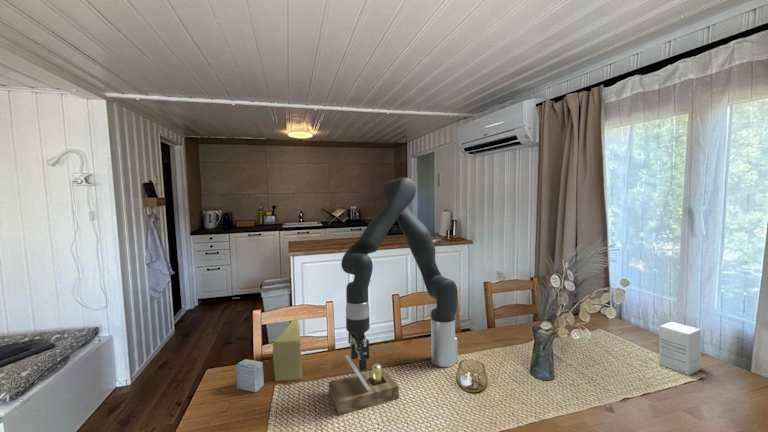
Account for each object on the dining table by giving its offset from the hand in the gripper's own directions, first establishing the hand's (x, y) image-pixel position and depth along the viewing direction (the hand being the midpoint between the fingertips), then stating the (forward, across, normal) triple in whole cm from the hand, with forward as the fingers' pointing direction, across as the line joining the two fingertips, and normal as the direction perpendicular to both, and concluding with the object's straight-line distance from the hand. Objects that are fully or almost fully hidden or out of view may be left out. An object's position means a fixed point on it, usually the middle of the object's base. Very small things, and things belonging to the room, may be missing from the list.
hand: (358, 364), depth 103 cm
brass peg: (+11, 0, -6) cm, 13 cm away
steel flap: (+3, 0, +1) cm, 3 cm away
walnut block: (+11, 0, -1) cm, 11 cm away
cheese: (+11, +30, +17) cm, 37 cm away
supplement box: (+10, -32, -113) cm, 118 cm away
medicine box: (+11, +21, +33) cm, 40 cm away
